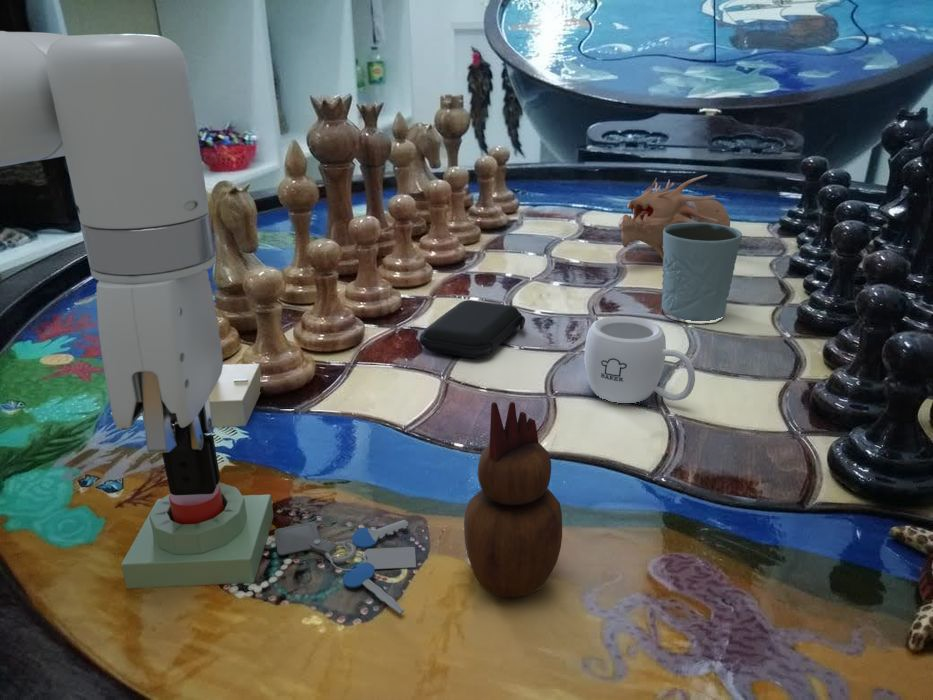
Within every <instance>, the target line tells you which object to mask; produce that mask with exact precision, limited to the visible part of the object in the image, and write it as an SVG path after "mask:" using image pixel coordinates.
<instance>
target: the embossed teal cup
mask: <svg viewBox="0 0 933 700" xmlns="http://www.w3.org/2000/svg"><path fill="white" fill-rule="evenodd" d="M742 237H743V233H742V232H741V231H740V230H739V229H737V228H735V227H732V226H730V227H729V226H724V225H719V224H713V223H702V222H688V223H678V224H672V225H669V226H667V227H665V228H664V230H663V246H662V248H663V253H664V256H663V259H662V276H661V277H662V282H661V284H662V285H661V286H662V288H661V310H662V309H663V310H664V311H665V312H666V313H668V314H669V315H672V316H674V317H678V318H681V319H684V320H691V321H710V320H716V319H718V318H721V317H723V316H724V317H725V315H724V314H726V309H727V306H728V302H727V300H728V298H729V296H730V291H731V284H732V282H733V277H734V271H735V269H736V268H735V266H736V262H737V259H738V254H739V250H740V245H741V241H742Z"/></svg>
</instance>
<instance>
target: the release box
mask: <svg viewBox="0 0 933 700" xmlns="http://www.w3.org/2000/svg"><path fill="white" fill-rule="evenodd" d="M218 484H219V485H220V488H221V494H222V500H223V511H222V512H221V513H220V514H219V515H217V516H216V517H214V518H213V519H210V520H207V521H204V522H201V523H198V524H179V523H176V522H175V521H174V519H173V516H172V511H171V506H170V501H169V495H170V493H168V494H167V495H166V496H165V495H164V497H162V498H157V499H156V501H155V503H154V505H153V506H152V508H151V510H150V512H149V513H148V515H147V517H146V519H145V521H144V522H143V524H142V526H141V528H140V530H139V531H138V533H137V535H136V537H135V539H134V541H133V542H132V544H131V545H130V548H129V549H128V551H127V553H126V555H125V557H124V558H123V560H122V562H121V564H120V567H121V571H122V574H123V579H124V584H125V588H126V589H130V590H131V589H146V588H147V589H151V588H152V589H153V588H173V587H174V588H175V587H194V586H195V587H196V586H214V585H215V586H216V585H217V586H218V585H236V584H237V585H238V584H239V585H240V584H254V583H255V581H256V577H257V574H258V570H259V568H260V564H261V561H262V558H263V553H264V551H265V547H266V544H267V541H268V537H269V534H270V530H271V527H272V524H273V521H274V517H275V515H274V509H273V500H272V495H271V494H251V495H250V494H249V495H242V493H241V492H240V490H239V489H238V487H235V486H232V485H229V484H226V483H223V482H218Z"/></svg>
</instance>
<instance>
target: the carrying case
mask: <svg viewBox="0 0 933 700" xmlns="http://www.w3.org/2000/svg"><path fill="white" fill-rule="evenodd" d="M525 324H526V318H525V316H524V315H522V312H520V311H519V309H518V308H517V307H516V306H513V305H508V304H502V303H495V302H487V301H482V300H481V301H480V300H475V299H474V300H473V299H467V300H466V299H465V300H463V301H460V302H459V303H457V304H456V305H455V306H453V307H452V308H450V309H449V310H448V311H447V312H444V314H442V315H441V316H440V317H438V318H437V319H436V320H434V321H433V322H432V323H430V325H428V326H427V327H426V328H425V329H424V330H423V331H422V332H421V333H420V335H419V344H420V345H421V346H423V347H424V349H425V350H427V351H429V352H433V353H439V354H445V355H450V356H451V355H452V356H456V357H461V358H468V359H473V360H474V359H475V360H476V359H477V360H480V359H483V358H485V357H486V356H488V355H489V354H492V353H493V352H494V351H495V350H496V349H497V348H498V347H499V346H500V345H501V344H502V343H503V342H504V341H505V340H506V339H508V337H510V335H512V334H513V333H514V332H515V331H516V330H517V329H518V328H519V329H520V331H522V330H524V327H525Z"/></svg>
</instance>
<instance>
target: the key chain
mask: <svg viewBox="0 0 933 700" xmlns="http://www.w3.org/2000/svg"><path fill="white" fill-rule="evenodd" d="M408 527H409V521H407V520H406V519H402V520H399V521H396V522H394V523H391V524H388V525H385V526H383V527H379V528H376V529H373V528H369V526H367V527H360V528H358V529H357V530H356V531H354V533H353V534H352V536H351V540H349V539H348V540H342V541H336V542H334V541H328V540H325V539H323V538H321V537H320V533H319V530H318V526H317V522H315V521H310V522H305V523H300V524H294V525H289V526H285V527H280V528H277V529H274V531H273V534H274V539H275V546H276V552H277V555H278V556H286V555H290V554H294V553H299V552H304V551H309V550H310V551H313V552H317V553H320V554H322V555H323V556H325V559H327V560H328V561H330V564H331V565H332V566H333V567H334V568H335V569H338V570H341V571H346V572H345V573H344V575H343V578H342V582H343V584H344V586H345V587H347V588H350V589H356V588H359V587H361V586H364V587H365V588H366V589H367V590H368V591H369V592H371V593H373V594H374V595H375V597H376V598H377V599H379V600H380V601H381V602H382V603H384V604H386V605H387V606H388V607H389V608H390V609H392V610H394V611H395V612H396V613H398V614H399V615H402V614H403V613H404V612H405V609H404V608H403V607H402V606H401V605H400V604H399V603H398V602H397V601H396V599H394V597H392V595H389V594H388V593H387V592H385V591H384V590H383V588H381V586H380V585H377V584H376V583H374V582H373V581H372V580H371V579H373V577H374V576H375V575H376V570H388V569H391V570H392V569H412V568H414V569H415V568H417V561H416V560H417V559H416V557H417V556H416V547H415V546H401V547H378V548H377V547H375V548H372V547H374V546H376V545H377V544H378V540H379V539H380V540H382V539H384V538H385V537H386V536H393V535H395V533H398V532H399V531H400V530H407V528H408ZM394 532H395V533H394ZM338 547H343V548H344V549H345V550H342V551H338V552H336V553H334V554H333V555H332V556H331V554H332V553H333V552H334V551H335V550H336V549H337V548H338ZM357 548H361V549H365V550H364V552H363V554H362V552H358V551H356V550H357ZM344 553H348V554H347V555H346V556H343V557H336V556H337V555H340V554H344ZM355 554H356V555H360V556H361V557H362V558H363V562H360V563H357V564H355V565H353V566H351V567H350V568H342V567H340V566H337V565H336V564H337V563H345V562H347V561H349V560H351V559H352V558H353V557H354V556H355ZM335 563H336V564H335Z"/></svg>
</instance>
